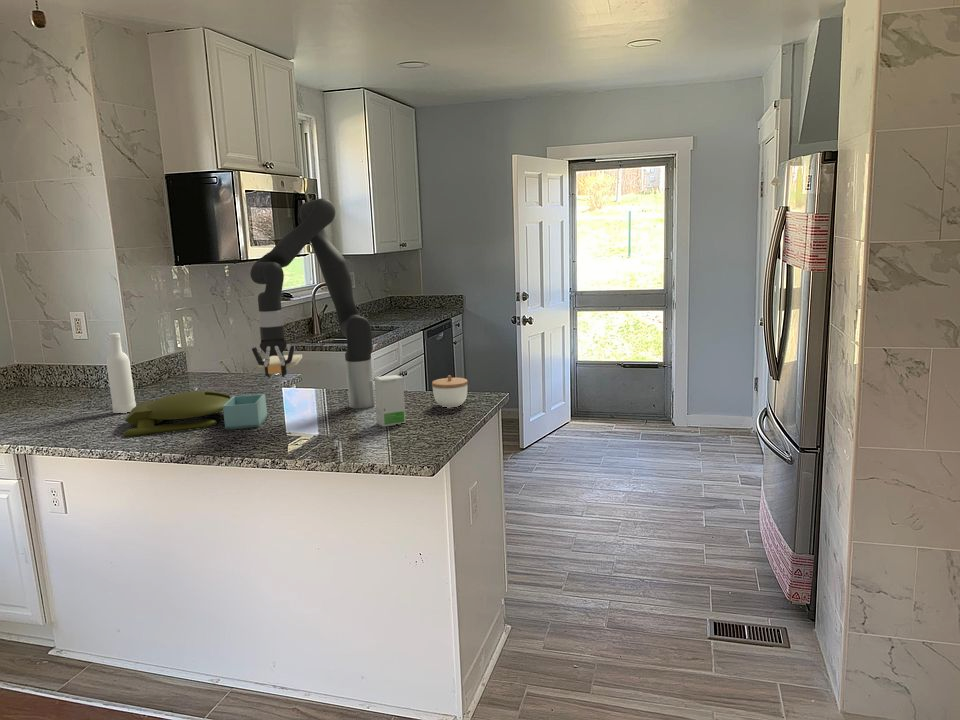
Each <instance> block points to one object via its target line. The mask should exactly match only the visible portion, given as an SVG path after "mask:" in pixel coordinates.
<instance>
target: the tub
mask: <svg viewBox="0 0 960 720" xmlns="http://www.w3.org/2000/svg"><path fill="white" fill-rule="evenodd" d="M267 417H268V410H267V399H266V394H265V393H262V394H261V393H259V394H258V393H257V394H245V395H233V396H232V397H231V399H230V400H229V401H228V402H227V403H225V404H224V405H223V419H224V428H225V429H226V430H236V428H239V429H249V428H252V429H253V428H259V427H261V425H262V424H263V423H264V422H265V420H266V418H267Z"/></svg>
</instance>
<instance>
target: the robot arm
mask: <svg viewBox="0 0 960 720" xmlns="http://www.w3.org/2000/svg"><path fill="white" fill-rule="evenodd" d="M298 212H299V219H300V222H301V223H300V224H299V225H298V226H296V227H295V228H293V229H292V230H290V231H289V232H287V233H286V235H284V236H283V237H282V238H281V239H280V240H279V241H278V242H277V244H276V245H274V247H273V248H272V249H271V250H270V251H268V252H267V253H266V254H264V255H263V256H262V257H260V258H259V259H258V260H256V261H255V262H254V264H253V265H252V266H251V269H250V271H249V272H250V275H249V276H250V278H251V280H252V281H253V282H254V283H255V284H258V285H265V288H264V291H262V292H260V293H259V294H258V296H257V302H258V303H257V305H258V325H259V334H260V343H259V345H257V346H254V347H252V348H251V351H252V353H253V356H254V358H255V360H256V362H257V365H258V364H259V365H263V366H264V367H265V368H264V375H265V376H266V377H267V378H268V379H269V378H271V377H272V374H268V366H269V362H270V357H271V356H278V358H279V359H280V362H281V365H282V366H281V369H282V373H281V378H285V377H286V376H287V374H288V370H287V368H288V367H287V368H286V365H287V364H288V363H290V362H291V361H292V357H293V355H295V354H294V353H295V349H296V345H295V344H289V343H288V342H287V341H286V335H285V325H284V324H285V323H284V316H283V315H284V314H283V310H282V301H281V296H282V292H283V285H284V279H285V275H284V270H283V268H286V267H288V266H289V265H290V264H291V263H292V261H294V260H295V258H296V257H297V256H298V255H299V254H300V252H301V251H302V250H303V249H304V248H305V246H306V245H307V244H309V242H310V243H311V246H312V249H313V251H314V254H315V256H316V260H317V262H318V264H319V269H320V270H321V274H322V277H323V280H324V283H325V286H326V287H327V290H328V293H329V295H330V298H331V301H332V302H333V306H334V308H335V312H336V316H337V321H338V323H339V329H340V331H341V332H340V333H341V334H342V335H343V337H345V339H346V345H347V346H346V347H347V349H346V352H345V353H344V358H345V359H344V360H345V371H346V383H347V394H348V406H349V407H348V408H351V409H366V408H372V407H376V398H375V383H374V377H373V364H372V352H373V337H372V336H373V334H372V333H373V332H372V326H371V323H370V321H369V320H368V319H367V318H366V317H364V316H361V315H360V313H359V311H358V309H357V305H356V303H355V300H354V299H355V298H354V294H353V282H352V276H351V273H350V270H349V266H348V263H347V261H346V259H345V257H344V256H343V254H342V253H341V252H340V251H339V249H337V248H336V247H335V246H334V244H332V242H331V241H330V239H329V238H328V234H327V233H326V230H325V228H326V227H327V226H329V225H330V224H331V223H332V222H333V221H334V219H335V217H336V210H335V206H334V203H332V201H330V200H329V199H327V198H323V197H322V198H316V199H313V200H309V201H305V202H303V203H302V204H301V205H300V207H299V211H298ZM286 348H287V351H288V354H287V355H288V358H287V360H285V357H284V355H285V354H284V351H285V349H286ZM261 350H262V351H263V353H265V355H264V359H265V361H263V360H264V359H263V358H262V355H261V353H260V352H261Z"/></svg>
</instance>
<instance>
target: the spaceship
mask: <svg viewBox="0 0 960 720" xmlns="http://www.w3.org/2000/svg"><path fill="white" fill-rule="evenodd" d="M231 398H232V397H231V396H229V395H228V394H225V393H221V392H218V391H209V390H196V391H195V390H194V391H193V390H192V391H184V392H179V393H174V394H169V395H166V396H163V397H160V398H158V399H156V400H149V401H141V402H139V403H137V404H136V407H135V408H133V409H132V410H131V412H130V413H128V414H127V416H126V417H125V418H124V420H123V421H124V422H127V423H129V424H131V425H132V426H135V427H134V428H129V429H126V430H125V431H124V432H123V435H124V436H125V437H128V438H129V437H130V438H131V437H132V436H133V437H141V436H149V435H156V434H157V433H158V434H163V433H165V432H167V433H173V431H175V432H182V430H183V431H190V430H189V429H192V430H197V429H196V428H200V429H205V428H204V427H208V428H212V427H211V426H213V427H215V425H216V426H217V424H218V422H217V420H215V419H203V420H194V421H186V422H177V423H168V424H160V423H161V422H163V420H179V419H188V418H189V419H190V418H196V417H202V416H203V417H204V416H207V415H211V414H215V413H219V412H222V411H223V405H224V404H225V403H227V402H228V401H229V400H230V399H231ZM158 424H160V425H158ZM165 434H166V433H165ZM133 437H132V438H133Z"/></svg>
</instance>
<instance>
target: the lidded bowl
mask: <svg viewBox="0 0 960 720" xmlns="http://www.w3.org/2000/svg"><path fill="white" fill-rule="evenodd" d="M468 383H469V382H468V379H466V378H464V377H452V375H450V374H449V375H447V377H445V378H443V377H442V378H438V379H434V380H432V382H431V386H432V391H433V392H432V393H433V397H434V399H435V402H436V403H437V404H438V405H439V406H440V407H441V406H442V407H447V408H446V409H451V408H450V407H457V406H460V405H461V406H462V405H463V403H464V402H465V401H466V398H467V396H468V385H469V384H468ZM461 406H460V407H461ZM442 407H441V408H442ZM457 408H458V407H457Z"/></svg>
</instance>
